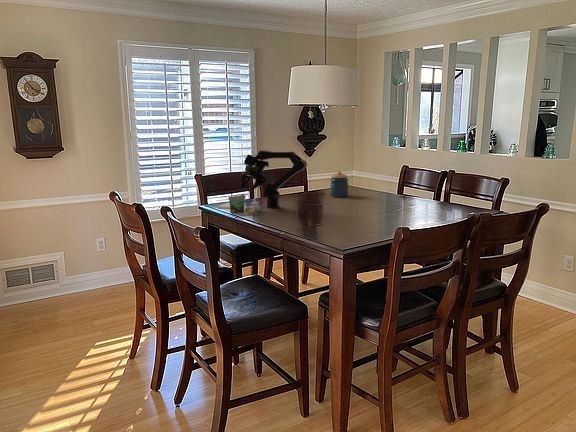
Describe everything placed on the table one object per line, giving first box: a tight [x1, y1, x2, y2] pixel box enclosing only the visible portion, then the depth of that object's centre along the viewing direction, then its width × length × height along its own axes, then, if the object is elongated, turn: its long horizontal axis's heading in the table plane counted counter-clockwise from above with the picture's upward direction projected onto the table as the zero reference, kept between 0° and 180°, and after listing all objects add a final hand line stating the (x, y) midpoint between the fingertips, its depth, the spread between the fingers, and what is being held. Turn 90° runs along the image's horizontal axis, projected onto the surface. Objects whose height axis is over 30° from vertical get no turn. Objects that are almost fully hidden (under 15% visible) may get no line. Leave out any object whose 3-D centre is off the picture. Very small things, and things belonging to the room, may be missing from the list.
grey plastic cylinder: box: [250, 201, 260, 213], centre depth 284 cm, size 5×5×5 cm
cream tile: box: [217, 202, 247, 210], centre depth 298 cm, size 13×14×1 cm
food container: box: [227, 193, 247, 214], centre depth 281 cm, size 12×6×10 cm, turn 143°
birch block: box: [244, 205, 256, 216], centre depth 273 cm, size 4×4×4 cm
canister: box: [329, 171, 349, 198], centre depth 331 cm, size 13×13×18 cm
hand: (246, 188), depth 284 cm, fingers open, 9 cm apart
